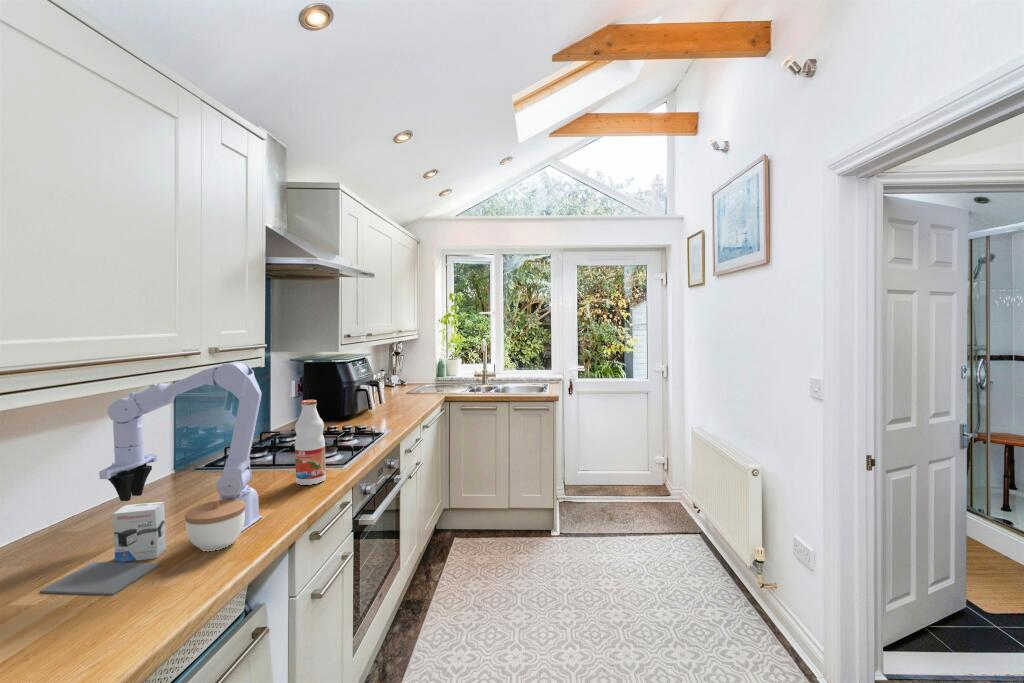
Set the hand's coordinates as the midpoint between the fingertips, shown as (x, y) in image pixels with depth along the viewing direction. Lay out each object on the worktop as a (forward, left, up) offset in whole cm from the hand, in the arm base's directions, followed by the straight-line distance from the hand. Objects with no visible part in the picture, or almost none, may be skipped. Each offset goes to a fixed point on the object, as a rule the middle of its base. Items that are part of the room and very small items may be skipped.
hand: (131, 497), depth 119 cm
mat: (+18, +10, -10) cm, 23 cm away
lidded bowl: (+2, +24, -11) cm, 26 cm away
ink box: (+9, +10, -11) cm, 17 cm away
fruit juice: (-43, +25, -11) cm, 51 cm away
